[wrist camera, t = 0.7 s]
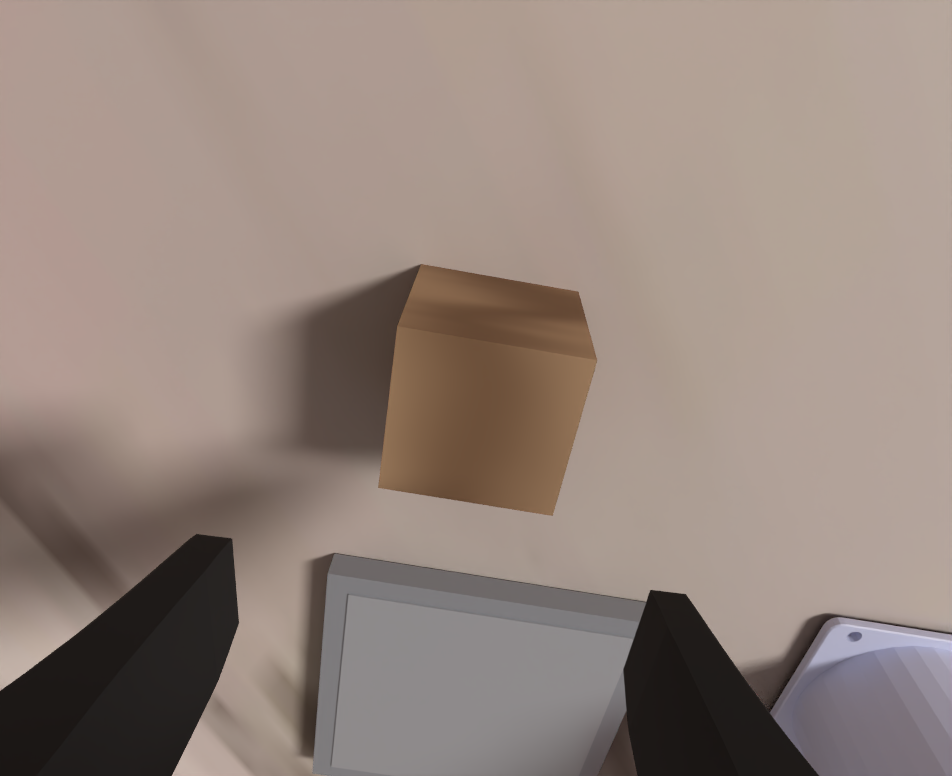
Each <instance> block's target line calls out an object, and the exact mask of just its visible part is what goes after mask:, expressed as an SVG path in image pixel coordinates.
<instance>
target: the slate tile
mask: <svg viewBox="0 0 952 776" xmlns="http://www.w3.org/2000/svg"><path fill="white" fill-rule="evenodd" d="M645 605H646V602H641V601H634V600H628V599H622V598H615V597H609V596H602V595H596V594H590V593H583V592H577V591H571V590H564V589H558V588H551V587H545V586H539V585H532V584H526V583H520V582H513V581H507V580H501V579H494V578H488V577H481V576H475V575H469V574H462V573H456V572H450V571H443V570H437V569H430V568H424V567H418V566H411V565H405V564H399V563H392V562H386V561H379V560H373V559H367V558H360V557H354V556H348V555H341V554H335V553H334V556H333V559H332V562H331V565H330V568H329V571H328V575H327V588H326V601H325V615H324V628H323V641H322V654H321V667H320V681H319V694H318V707H317V720H316V733H315V746H314V760H313V774H320V775H327V776H598V774H599V772H600V769H601V767H602V765H603V762H604V760H605V758H606V756H607V753H608V751H609V749H610V747H611V744H612V742H613V740H614V738H615V735H616V733H617V731H618V728H619V726H620V724H621V722H622V719H623V717H624V715H625V713H626V710H627V709H626V698H625V685H624V673H623V669H624V666H625V663H626V660H627V657H628V654H629V651H630V648H631V645H632V642H633V640H634V637H635V634H636V631H637V628H638V625H639V622H640V619H641V616H642V613H643V610H644V608H645Z"/></svg>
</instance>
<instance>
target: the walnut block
mask: <svg viewBox="0 0 952 776" xmlns="http://www.w3.org/2000/svg"><path fill="white" fill-rule="evenodd" d="M596 363H597V358H596V354H595V351H594V347H593V343H592V340H591V336H590V332H589V329H588V325H587V321H586V318H585V314H584V310H583V307H582V303H581V299H580V296H579V292H577V291H571V290H565V289H559V288H554V287H548V286H542V285H537V284H531V283H525V282H520V281H514V280H508V279H502V278H497V277H491V276H485V275H480V274H474V273H468V272H463V271H457V270H451V269H445V268H440V267H434V266H428V265H423V264H421V266H420V268H419V271H418V274H417V276H416V279H415V281H414V284H413V287H412V289H411V292H410V294H409V297H408V299H407V302H406V305H405V307H404V310H403V312H402V315H401V318H400V320H399V323H398V325H397V332H396V341H395V349H394V358H393V366H392V375H391V383H390V392H389V400H388V409H387V418H386V426H385V435H384V443H383V452H382V460H381V469H380V477H379V486H378V488H383V489H390V490H396V491H402V492H408V493H414V494H421V495H427V496H433V497H439V498H446V499H452V500H458V501H464V502H470V503H477V504H483V505H489V506H495V507H501V508H508V509H514V510H520V511H526V512H533V513H539V514H545V515H551V516H553V512H554V509H555V505H556V502H557V498H558V495H559V492H560V488H561V485H562V481H563V478H564V474H565V471H566V467H567V464H568V460H569V457H570V453H571V450H572V446H573V443H574V439H575V436H576V432H577V429H578V425H579V422H580V418H581V415H582V411H583V408H584V404H585V401H586V397H587V394H588V391H589V387H590V384H591V380H592V377H593V373H594V370H595V366H596Z"/></svg>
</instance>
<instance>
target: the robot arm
mask: <svg viewBox="0 0 952 776" xmlns="http://www.w3.org/2000/svg"><path fill="white" fill-rule="evenodd" d="M238 624H239V619H238V606H237V594H236V581H235V569H234V557H233V544H232V539H231V538H223V537H215V536H207V535H199V534H196V535H195V536H193V537H192V538H190V539H189V540H188V541H187V542H186V543H185V544H183V545H182V546H181V547H180V548H179V549H178V550H176V551H175V552H174V553H173V554H172V555H171V556H169V557H168V558H167V559H166V560H165V561H164V562H163V563H161V564H160V565H159V566H158V567H157V568H156V569H154V570H153V571H152V572H151V573H150V574H149V575H148V576H146V577H145V578H144V579H143V580H142V581H141V582H139V583H138V584H137V585H136V586H135V587H133V588H132V589H131V590H130V591H129V592H128V593H126V594H125V595H124V596H123V597H122V598H120V599H119V600H118V601H117V602H115V603H114V604H113V605H112V606H111V607H109V608H108V609H107V610H106V611H104V612H103V613H102V614H101V615H100V616H98V617H97V618H96V619H95V620H93V621H92V622H91V623H90V624H89V625H87V626H86V627H85V628H84V629H82V630H81V631H80V632H79V633H77V634H76V635H75V636H74V637H72V638H71V639H70V640H68V641H67V642H66V643H64V644H63V645H62V646H60V647H59V648H58V649H56V650H55V651H54V652H52V653H51V654H50V655H48V656H47V657H46V658H44V659H43V660H42V661H40V662H39V663H38V664H36V665H35V666H34V667H33V668H31V669H30V670H29V671H27V672H26V673H25V674H23V675H22V676H20V677H19V678H18V679H16V680H15V681H13V682H12V683H11V684H9V685H8V686H6V687H5V688H4V689H2V690H1V691H0V776H172V774H173V772H174V770H175V768H176V766H177V764H178V762H179V760H180V758H181V756H182V754H183V752H184V750H185V748H186V746H187V744H188V742H189V740H190V738H191V736H192V734H193V732H194V730H195V728H196V726H197V724H198V722H199V719H200V717H201V715H202V713H203V711H204V709H205V707H206V705H207V703H208V701H209V699H210V697H211V695H212V693H213V691H214V689H215V686H216V684H217V682H218V680H219V677H220V674H221V672H222V669H223V666H224V664H225V661H226V658H227V656H228V653H229V650H230V647H231V644H232V641H233V638H234V635H235V633H236V630H237V627H238ZM623 673H624V685H625V698H626V709H627V719H628V729H629V735H630V740H631V745H632V750H633V755H634V760H635V765H636V770H637V775H638V776H952V635H950V634H944V633H937V632H931V631H925V630H918V629H912V628H906V627H899V626H893V625H887V624H880V623H874V622H868V621H861V620H855V619H849V618H842V617H836V618H832V619H830V620H828V621H827V622H826V623H825V624H824V625H823V627H822V628H821V630H820V632H819V633H818V635H817V636H816V638H815V640H814V641H813V643H812V645H811V646H810V648H809V649H808V651H807V653H806V654H805V656H804V658H803V659H802V661H801V663H800V664H799V666H798V667H797V669H796V671H795V672H794V674H793V676H792V677H791V679H790V681H789V682H788V684H787V685H786V687H785V689H784V690H783V692H782V694H781V695H780V697H779V699H778V700H777V702H776V703H775V705H774V707H773V708H772V710H771V712H770V713H769V711H768V710H767V709H766V707H765V706H764V705H763V703H762V702H761V701H760V699H759V698H758V697H757V695H756V694H755V692H754V691H753V690H752V688H751V687H750V686H749V684H748V683H747V682H746V680H745V679H744V677H743V676H742V675H741V673H740V672H739V670H738V669H737V668H736V666H735V665H734V663H733V662H732V660H731V659H730V658H729V656H728V655H727V653H726V652H725V650H724V649H723V648H722V646H721V645H720V643H719V642H718V640H717V639H716V637H715V636H714V634H713V633H712V631H711V630H710V629H709V627H708V626H707V624H706V623H705V621H704V620H703V618H702V617H701V615H700V614H699V612H698V611H697V610H696V608H695V607H694V605H693V604H692V602H691V601H690V600H689V598H688V597H687V595H686V594H679V593H671V592H663V591H655V590H650V593H649V596H648V599H647V602H646V605H645V608H644V610H643V613H642V616H641V619H640V622H639V625H638V628H637V631H636V634H635V637H634V640H633V642H632V645H631V648H630V651H629V654H628V657H627V660H626V663H625V666H624V669H623Z"/></svg>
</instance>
